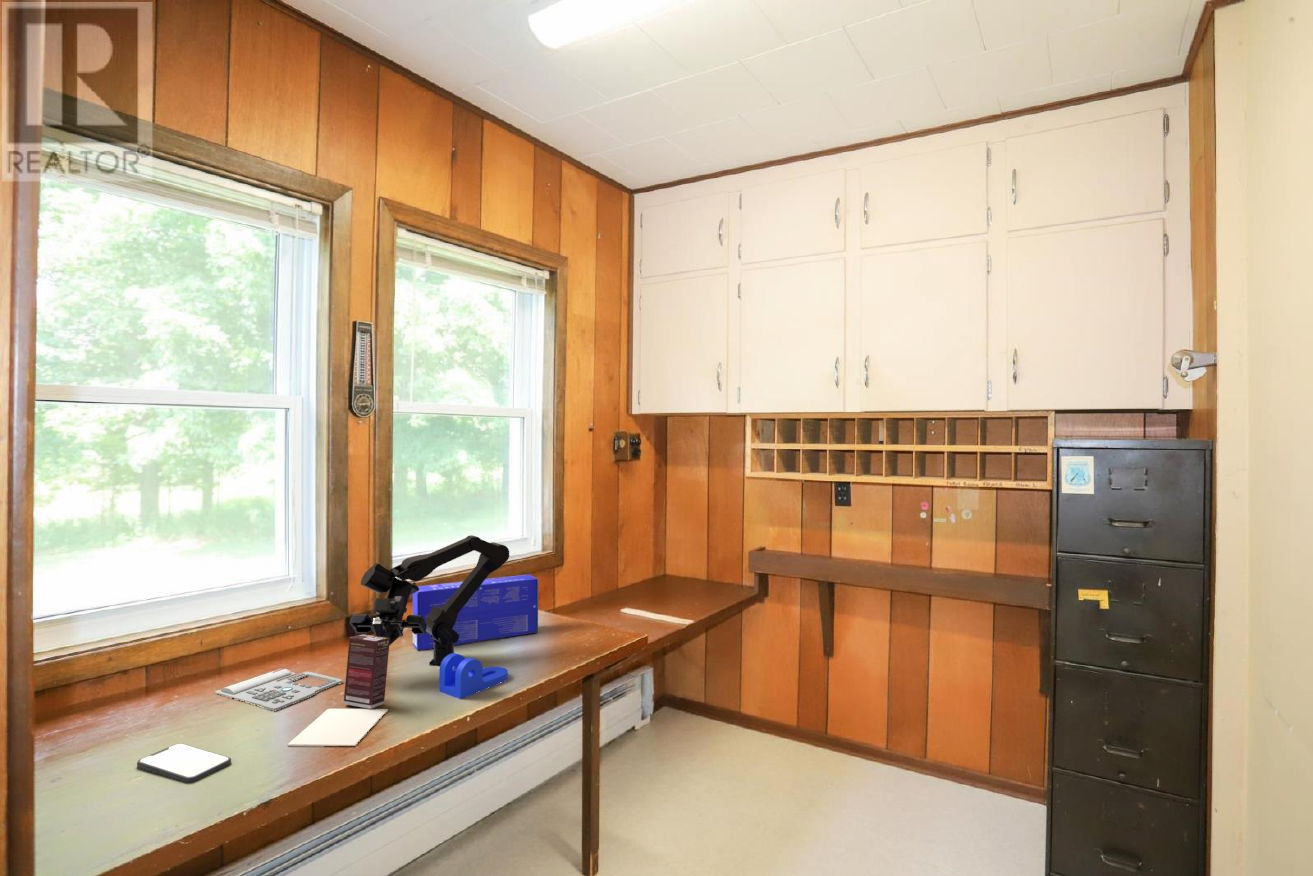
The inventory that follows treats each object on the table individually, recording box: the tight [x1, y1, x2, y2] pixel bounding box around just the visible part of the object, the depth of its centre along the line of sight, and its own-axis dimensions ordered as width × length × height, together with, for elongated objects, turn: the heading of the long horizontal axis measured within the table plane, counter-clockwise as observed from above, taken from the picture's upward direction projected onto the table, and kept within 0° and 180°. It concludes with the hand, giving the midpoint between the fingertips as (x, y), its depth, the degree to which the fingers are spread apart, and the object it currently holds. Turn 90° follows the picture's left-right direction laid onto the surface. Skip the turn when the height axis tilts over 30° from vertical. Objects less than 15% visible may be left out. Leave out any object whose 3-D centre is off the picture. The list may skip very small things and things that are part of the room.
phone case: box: [136, 743, 232, 784], centre depth 129 cm, size 9×2×16 cm
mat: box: [287, 708, 389, 747], centre depth 147 cm, size 18×14×1 cm
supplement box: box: [342, 633, 390, 709], centre depth 159 cm, size 9×5×16 cm, turn 71°
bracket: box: [438, 652, 509, 700], centre depth 173 cm, size 18×8×9 cm, turn 145°
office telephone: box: [214, 667, 343, 712], centre depth 168 cm, size 23×3×20 cm
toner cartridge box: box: [412, 574, 539, 652], centre depth 212 cm, size 39×8×18 cm, turn 121°
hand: (379, 654), depth 169 cm, fingers closed
